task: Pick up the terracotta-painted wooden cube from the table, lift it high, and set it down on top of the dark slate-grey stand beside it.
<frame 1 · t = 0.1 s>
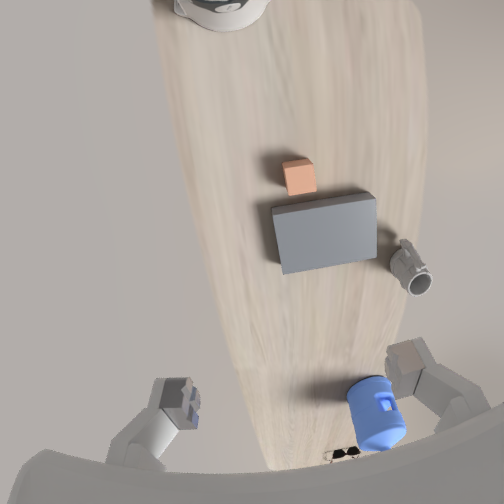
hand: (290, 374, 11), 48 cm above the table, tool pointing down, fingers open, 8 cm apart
sunglasses: (343, 453, 118), on the table
stand: (324, 229, 61), on the table
mug: (401, 253, 64), on the table
cube: (296, 173, 55), on the table
water jug: (368, 388, 89), on the table
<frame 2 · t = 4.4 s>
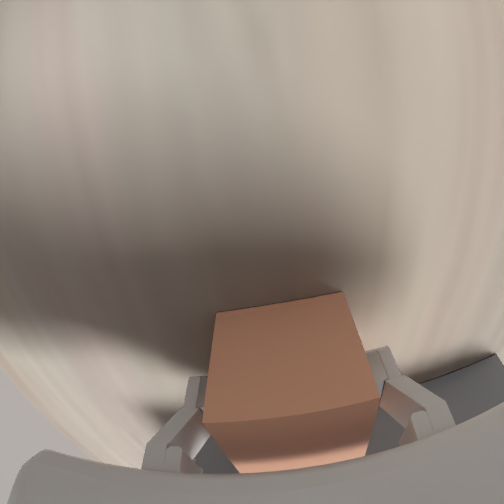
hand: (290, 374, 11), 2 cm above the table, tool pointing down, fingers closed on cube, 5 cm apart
stand: (357, 441, 18), on the table
cube: (287, 346, 13), on the table, touching gripper
when the fingers open (7 cm above the table, at t = 10.1 s): cube drops 1 cm, resting on stand.
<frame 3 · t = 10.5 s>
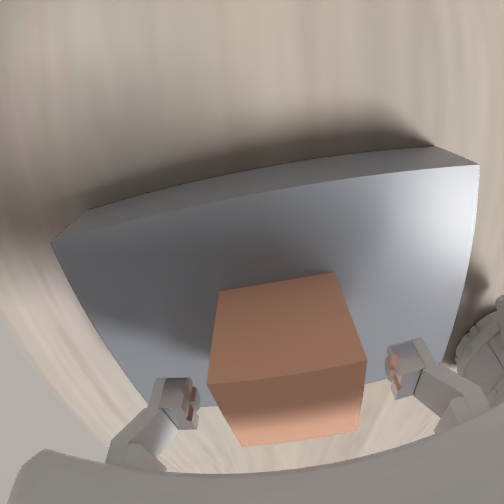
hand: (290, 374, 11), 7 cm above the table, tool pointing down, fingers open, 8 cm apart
stand: (278, 278, 18), on the table
mug: (484, 323, 21), on the table
cube: (284, 324, 14), point 4 cm above the table, touching stand
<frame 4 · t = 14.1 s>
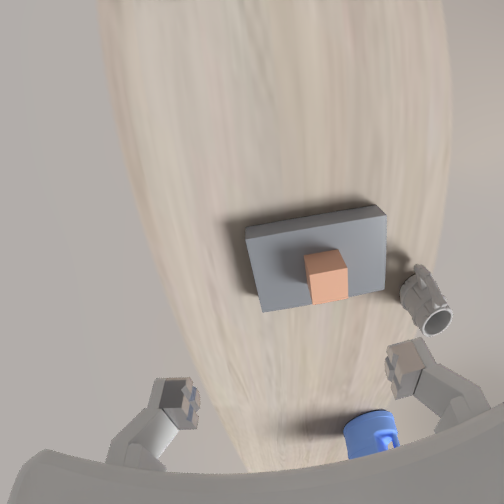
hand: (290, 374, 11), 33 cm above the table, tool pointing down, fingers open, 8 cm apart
stand: (317, 253, 47), on the table
mug: (414, 280, 50), on the table
cube: (322, 267, 43), point 4 cm above the table, touching stand
water jug: (367, 422, 75), on the table
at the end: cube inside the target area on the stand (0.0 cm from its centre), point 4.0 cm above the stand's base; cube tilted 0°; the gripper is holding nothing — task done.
